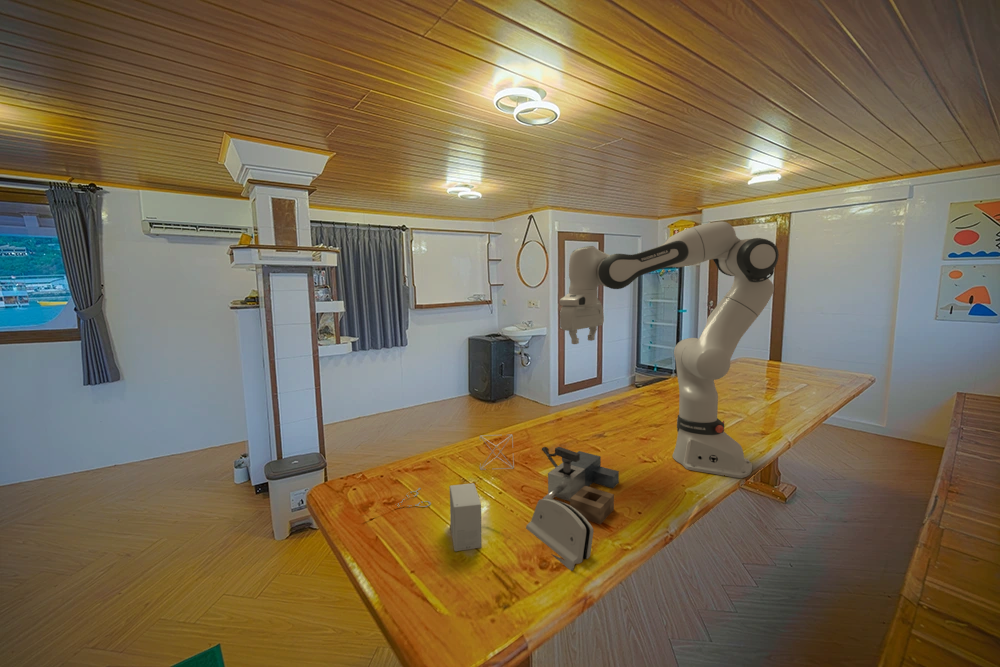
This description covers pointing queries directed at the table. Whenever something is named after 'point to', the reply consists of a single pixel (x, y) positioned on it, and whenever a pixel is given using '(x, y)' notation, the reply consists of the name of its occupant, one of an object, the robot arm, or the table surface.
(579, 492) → the brown square ring block
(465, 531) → the skincare box
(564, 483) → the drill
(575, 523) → the grey curved-top slotted block
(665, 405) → the table surface
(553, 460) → the forked twig branch
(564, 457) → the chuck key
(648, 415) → the table surface
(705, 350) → the robot arm
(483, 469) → the geometric polyhedron
